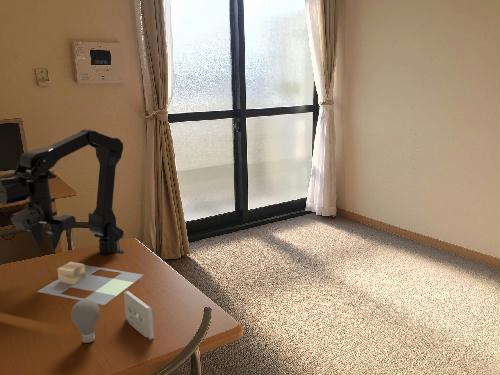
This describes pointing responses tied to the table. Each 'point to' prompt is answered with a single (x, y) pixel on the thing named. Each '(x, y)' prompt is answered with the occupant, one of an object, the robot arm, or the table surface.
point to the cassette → (139, 315)
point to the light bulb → (85, 318)
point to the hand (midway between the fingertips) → (46, 248)
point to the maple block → (71, 272)
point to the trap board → (95, 285)
